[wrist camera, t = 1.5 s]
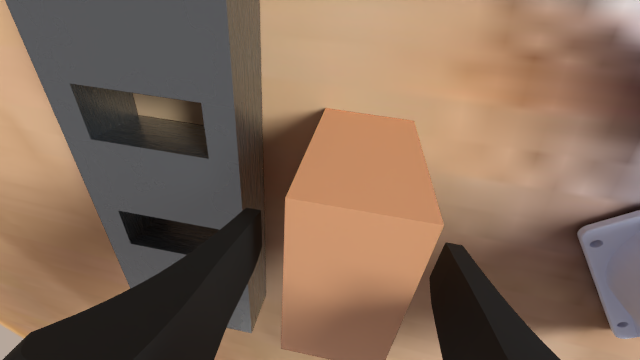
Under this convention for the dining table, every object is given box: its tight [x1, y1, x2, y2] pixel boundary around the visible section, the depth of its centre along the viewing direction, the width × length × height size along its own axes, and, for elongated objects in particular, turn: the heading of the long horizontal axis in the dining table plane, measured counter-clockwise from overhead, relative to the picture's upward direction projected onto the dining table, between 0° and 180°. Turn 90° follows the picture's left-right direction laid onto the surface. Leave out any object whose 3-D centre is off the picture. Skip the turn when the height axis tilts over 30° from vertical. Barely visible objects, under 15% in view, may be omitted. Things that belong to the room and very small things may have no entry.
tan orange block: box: [281, 108, 444, 360], centre depth 12 cm, size 8×4×7 cm, turn 175°
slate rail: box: [5, 0, 266, 333], centre depth 15 cm, size 22×8×3 cm, turn 175°
